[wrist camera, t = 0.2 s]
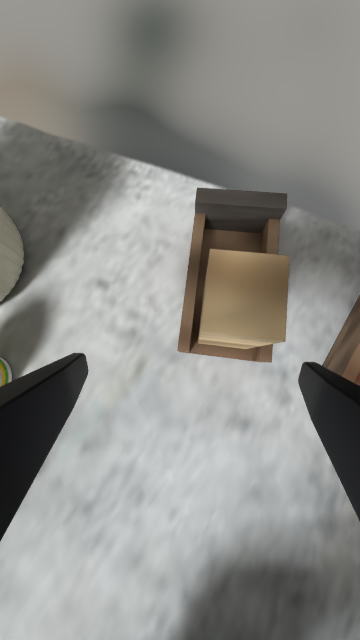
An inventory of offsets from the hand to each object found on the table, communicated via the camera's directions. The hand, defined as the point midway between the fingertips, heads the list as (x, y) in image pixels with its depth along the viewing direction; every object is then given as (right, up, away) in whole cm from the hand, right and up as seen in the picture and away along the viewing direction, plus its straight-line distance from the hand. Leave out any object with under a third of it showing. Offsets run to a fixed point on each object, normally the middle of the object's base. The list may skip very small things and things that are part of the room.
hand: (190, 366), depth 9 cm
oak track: (+4, +6, +14) cm, 16 cm away
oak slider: (+4, +2, +13) cm, 13 cm away
